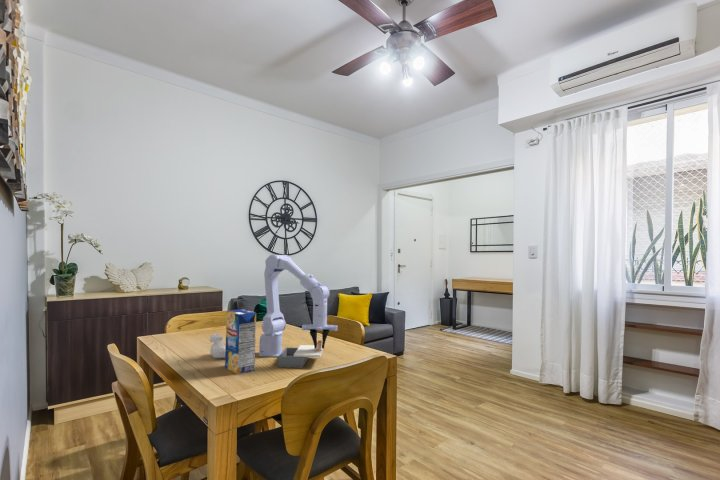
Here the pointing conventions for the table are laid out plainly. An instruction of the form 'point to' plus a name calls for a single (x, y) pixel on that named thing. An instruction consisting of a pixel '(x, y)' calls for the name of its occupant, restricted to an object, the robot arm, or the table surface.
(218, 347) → the bust
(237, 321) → the beverage box
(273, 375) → the table surface
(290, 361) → the carton
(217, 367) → the table surface
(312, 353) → the carton lid
